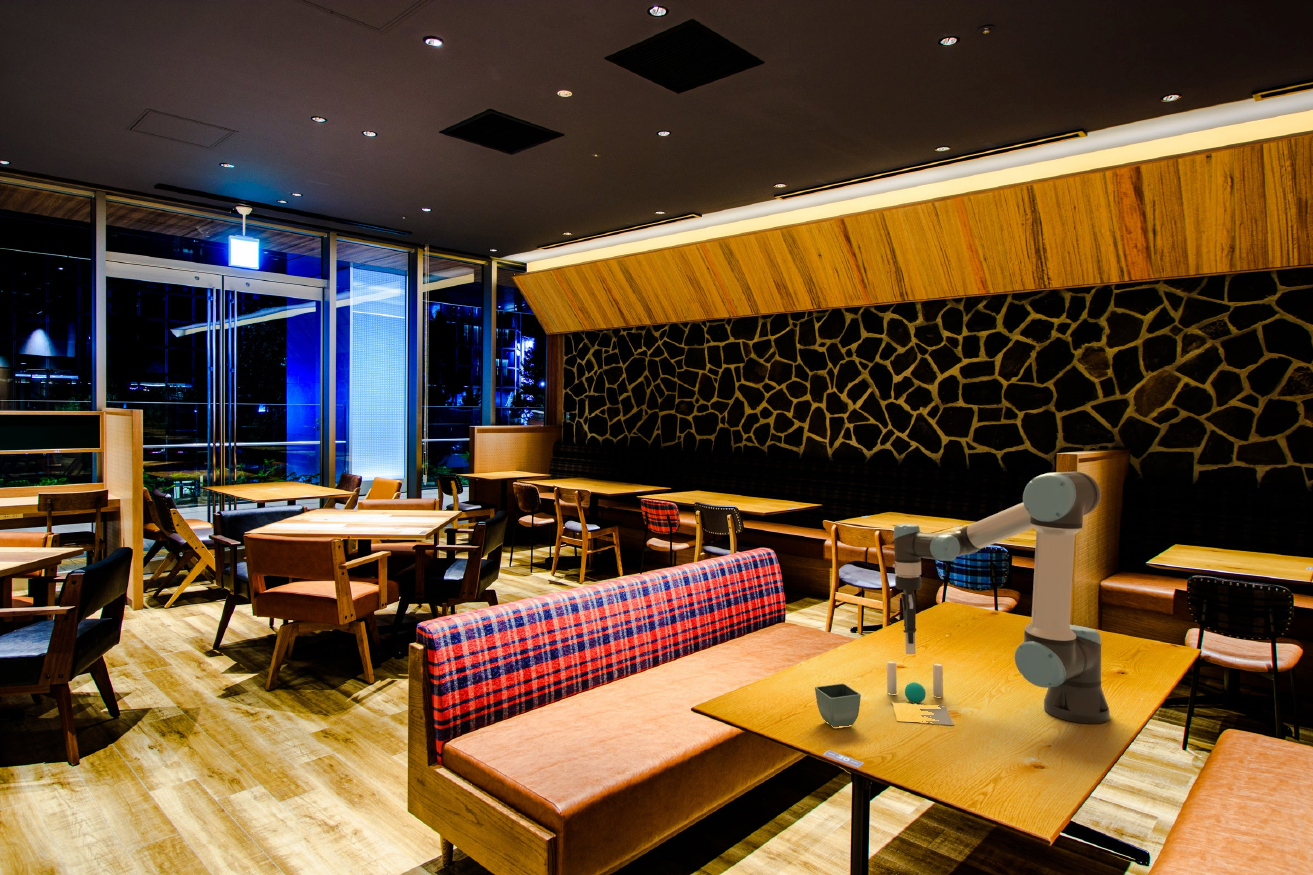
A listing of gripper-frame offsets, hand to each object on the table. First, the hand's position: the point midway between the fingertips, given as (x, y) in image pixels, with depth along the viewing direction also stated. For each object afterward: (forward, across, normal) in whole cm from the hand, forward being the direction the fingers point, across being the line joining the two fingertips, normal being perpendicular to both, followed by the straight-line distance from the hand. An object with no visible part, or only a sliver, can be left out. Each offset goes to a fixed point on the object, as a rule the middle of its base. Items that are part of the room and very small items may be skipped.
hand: (910, 653), depth 219 cm
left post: (+8, +12, -7) cm, 17 cm away
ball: (+6, +18, -1) cm, 19 cm away
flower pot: (+9, +38, -23) cm, 46 cm away
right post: (+9, +12, +6) cm, 16 cm away
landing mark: (+9, +26, -1) cm, 28 cm away
